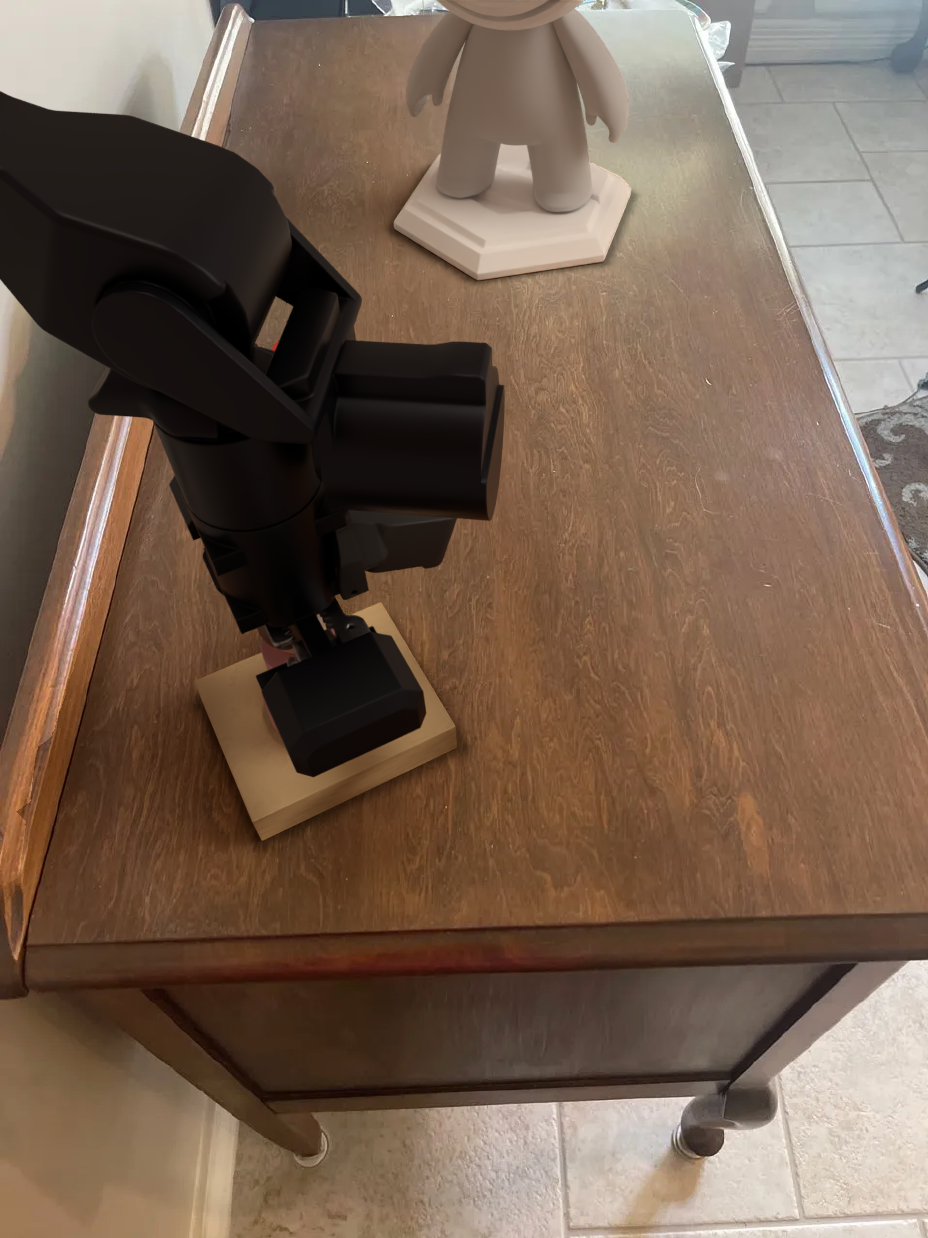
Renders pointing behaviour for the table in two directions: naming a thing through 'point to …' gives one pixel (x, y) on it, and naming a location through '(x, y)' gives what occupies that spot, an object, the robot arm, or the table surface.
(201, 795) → the table surface
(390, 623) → the doll stand
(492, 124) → the white cartoon figure
